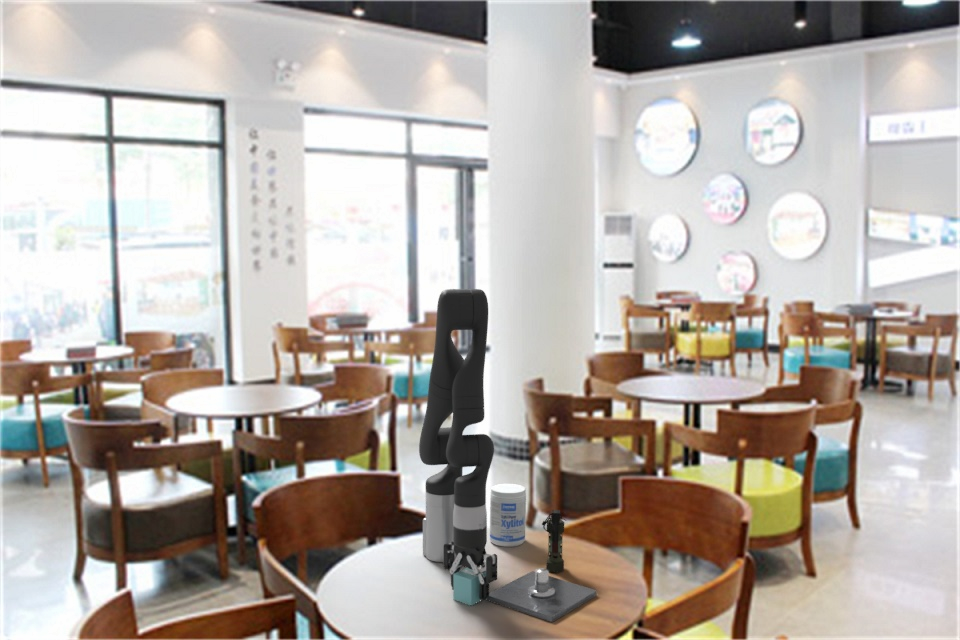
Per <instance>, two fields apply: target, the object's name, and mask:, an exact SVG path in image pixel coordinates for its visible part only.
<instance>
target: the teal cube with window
mask: <svg viewBox="0 0 960 640" xmlns="http://www.w3.org/2000/svg"><path fill="white" fill-rule="evenodd" d="M482 574H483V573H482ZM483 577H484V575H483ZM479 584H480V581H479V579H478V576H477V575H475V574H474V571H473V570H472V569H469V568H468V567H465V568H461V570H460V571H459V572H457V573H455V574H453V590H452V591H453V593H452V594H453V601H455V600H457V601H456V602H458V601H460V602H459V603H461V602H463V603H462V604H464V603H466V604H465V605H467V604H468V606H470V605H472V606H474V605H476V604H477V603H476V602H478V601H480V600H481V599H479ZM480 602H481V601H480ZM475 603H476V604H475ZM478 603H479V602H478ZM473 604H474V605H473Z"/></svg>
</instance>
